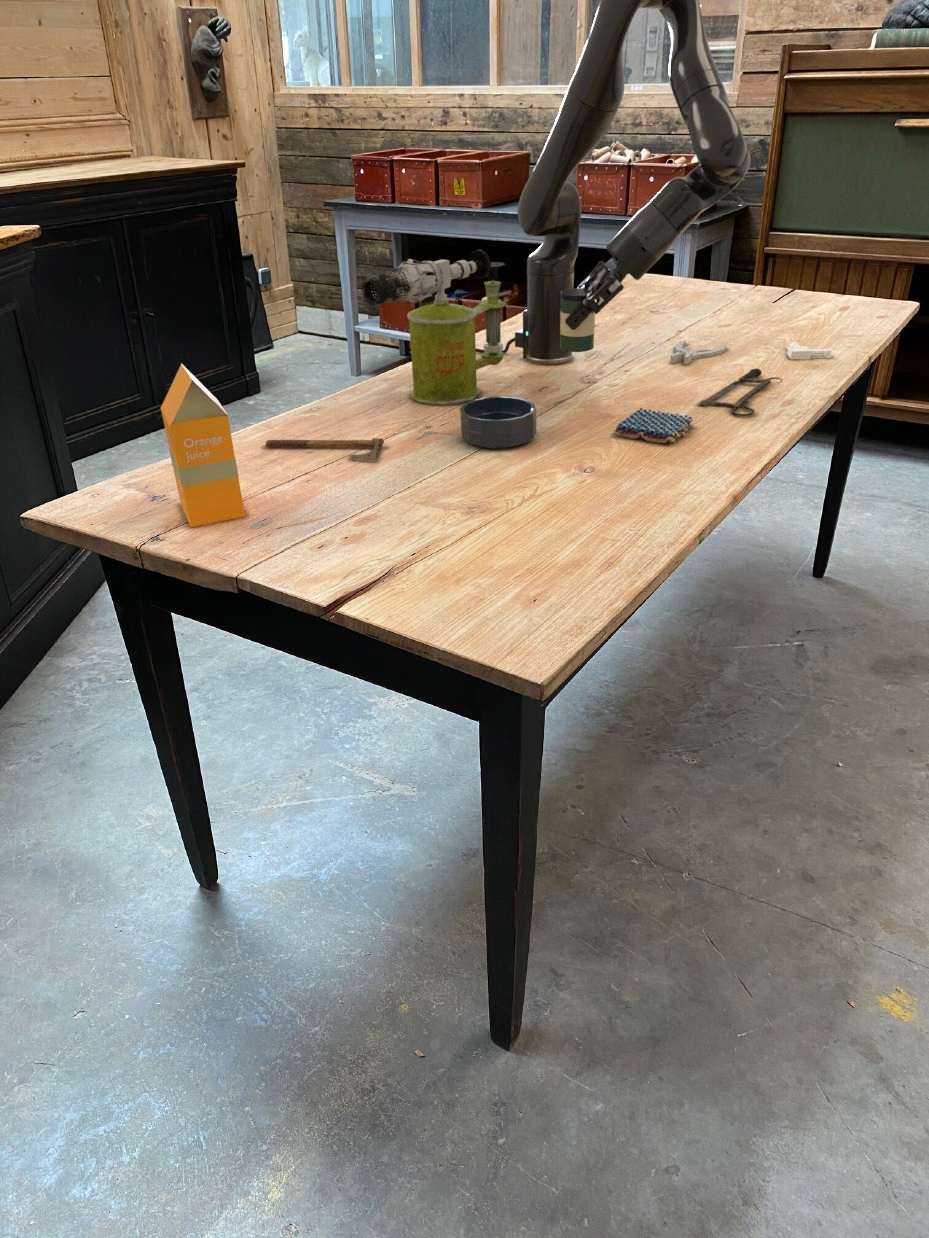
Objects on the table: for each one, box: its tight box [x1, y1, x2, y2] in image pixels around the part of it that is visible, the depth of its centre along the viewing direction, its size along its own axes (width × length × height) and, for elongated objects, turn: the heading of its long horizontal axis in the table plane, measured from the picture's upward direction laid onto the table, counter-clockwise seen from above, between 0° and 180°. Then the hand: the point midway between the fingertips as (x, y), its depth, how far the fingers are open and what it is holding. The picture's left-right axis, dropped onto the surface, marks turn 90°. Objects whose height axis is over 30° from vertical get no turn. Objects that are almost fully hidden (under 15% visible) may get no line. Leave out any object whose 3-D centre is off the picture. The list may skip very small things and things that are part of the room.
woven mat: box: [613, 407, 694, 444], centre depth 154 cm, size 10×11×2 cm
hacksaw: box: [698, 367, 783, 417], centre depth 169 cm, size 24×10×2 cm, turn 141°
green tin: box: [560, 287, 596, 353], centre depth 155 cm, size 6×6×9 cm
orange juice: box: [160, 362, 246, 528], centre depth 128 cm, size 8×9×20 cm
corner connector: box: [786, 341, 832, 360], centre depth 190 cm, size 8×8×2 cm
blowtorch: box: [361, 248, 508, 406], centre depth 169 cm, size 13×33×25 cm, turn 137°
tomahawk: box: [265, 437, 385, 463], centre depth 151 cm, size 20×7×1 cm, turn 83°
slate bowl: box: [459, 395, 538, 449], centre depth 153 cm, size 12×12×5 cm
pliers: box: [669, 339, 728, 366], centre depth 192 cm, size 10×2×15 cm
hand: (566, 321), depth 155 cm, fingers closed on green tin, 5 cm apart
